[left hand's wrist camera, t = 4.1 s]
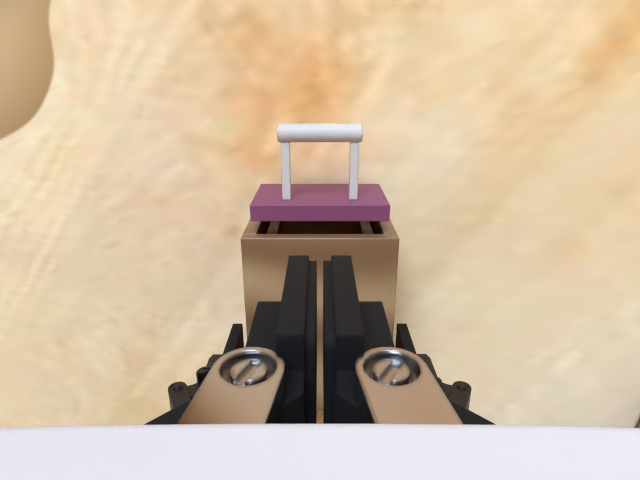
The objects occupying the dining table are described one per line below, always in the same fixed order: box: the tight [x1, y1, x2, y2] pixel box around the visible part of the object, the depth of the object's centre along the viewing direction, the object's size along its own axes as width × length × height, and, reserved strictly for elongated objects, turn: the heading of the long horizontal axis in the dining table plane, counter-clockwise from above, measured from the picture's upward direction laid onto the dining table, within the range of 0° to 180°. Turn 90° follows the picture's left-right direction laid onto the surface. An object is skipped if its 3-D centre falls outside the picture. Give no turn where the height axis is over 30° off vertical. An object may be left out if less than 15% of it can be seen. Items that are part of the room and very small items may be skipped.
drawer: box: [250, 124, 390, 234], centre depth 36 cm, size 19×10×6 cm, turn 0°
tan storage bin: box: [241, 218, 399, 410], centre depth 38 cm, size 15×11×8 cm
